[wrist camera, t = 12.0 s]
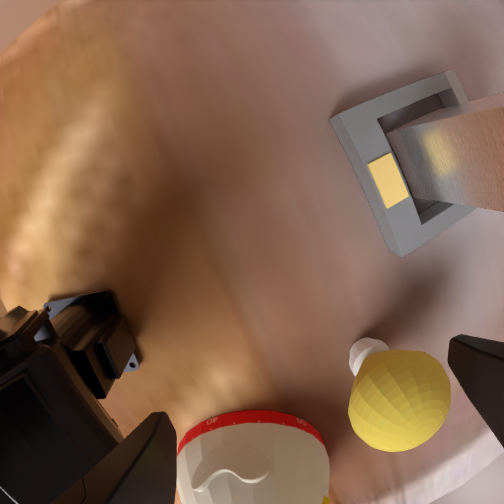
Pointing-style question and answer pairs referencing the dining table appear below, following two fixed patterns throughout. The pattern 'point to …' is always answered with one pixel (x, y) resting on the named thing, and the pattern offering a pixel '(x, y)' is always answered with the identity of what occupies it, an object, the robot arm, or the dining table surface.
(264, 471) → the kitchen timer
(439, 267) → the dining table surface
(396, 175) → the plate
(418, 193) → the rectangular block post
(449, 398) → the light bulb
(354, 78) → the dining table surface
